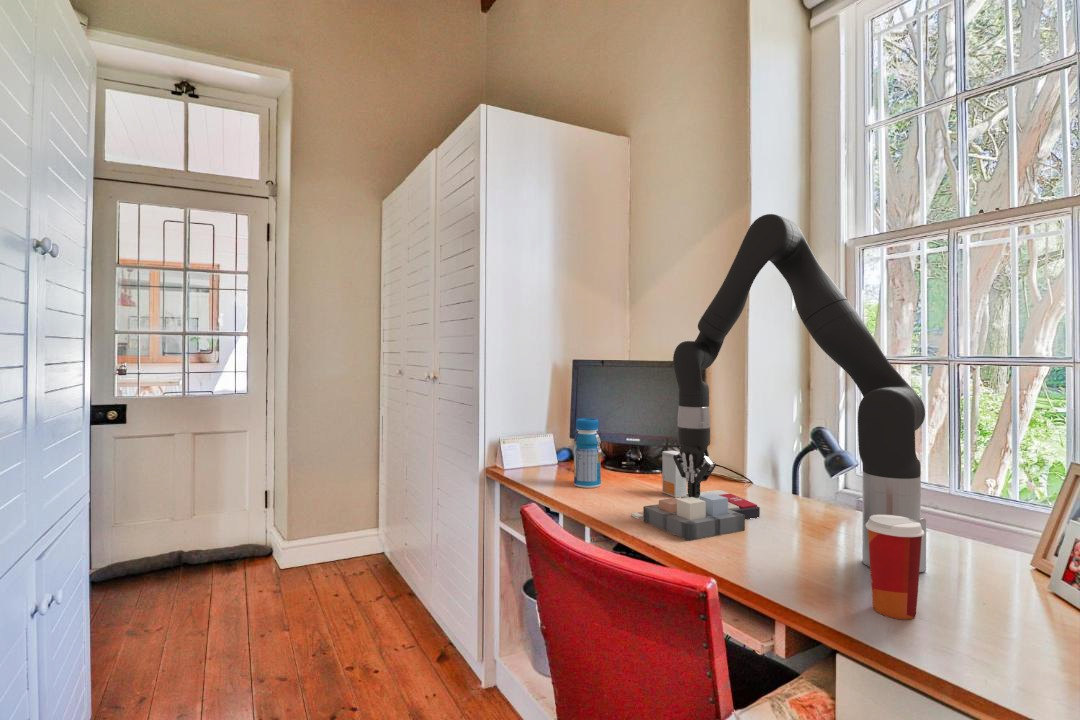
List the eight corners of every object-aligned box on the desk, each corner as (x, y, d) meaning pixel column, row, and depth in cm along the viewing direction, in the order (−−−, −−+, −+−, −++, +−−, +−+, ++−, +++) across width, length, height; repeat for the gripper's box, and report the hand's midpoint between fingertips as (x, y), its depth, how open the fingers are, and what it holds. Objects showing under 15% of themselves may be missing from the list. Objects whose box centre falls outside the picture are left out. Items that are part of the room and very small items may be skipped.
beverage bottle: (583, 489, 167) (583, 421, 167) (568, 484, 174) (567, 418, 174) (607, 486, 171) (606, 419, 171) (591, 481, 178) (591, 417, 178)
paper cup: (901, 600, 92) (902, 513, 91) (936, 622, 84) (936, 527, 84) (854, 601, 91) (854, 513, 91) (884, 623, 84) (884, 528, 84)
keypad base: (744, 530, 128) (744, 514, 128) (688, 540, 121) (688, 524, 121) (696, 512, 142) (696, 498, 142) (643, 521, 135) (643, 506, 135)
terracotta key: (686, 519, 132) (686, 502, 132) (670, 521, 130) (670, 504, 130) (673, 514, 136) (673, 497, 136) (658, 517, 134) (658, 500, 134)
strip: (690, 510, 144) (690, 507, 144) (638, 518, 137) (638, 515, 137) (683, 507, 147) (683, 505, 147) (631, 515, 140) (631, 512, 140)
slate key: (727, 515, 129) (727, 498, 129) (712, 518, 127) (712, 500, 127) (714, 510, 133) (714, 493, 133) (699, 513, 131) (699, 495, 131)
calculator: (723, 508, 134) (685, 491, 148) (722, 527, 134) (685, 507, 148) (760, 504, 138) (720, 487, 152) (760, 521, 138) (720, 503, 152)
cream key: (705, 519, 126) (705, 501, 126) (689, 522, 124) (689, 503, 124) (692, 514, 130) (692, 496, 130) (676, 516, 128) (676, 499, 128)
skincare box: (661, 493, 163) (661, 451, 163) (673, 491, 164) (673, 450, 164) (675, 498, 157) (675, 454, 157) (687, 496, 159) (687, 453, 159)
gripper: (726, 427, 132) (725, 502, 132) (687, 421, 143) (687, 490, 144) (700, 429, 128) (700, 506, 129) (663, 422, 140) (663, 493, 140)
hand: (693, 497), depth 136 cm, fingers closed
